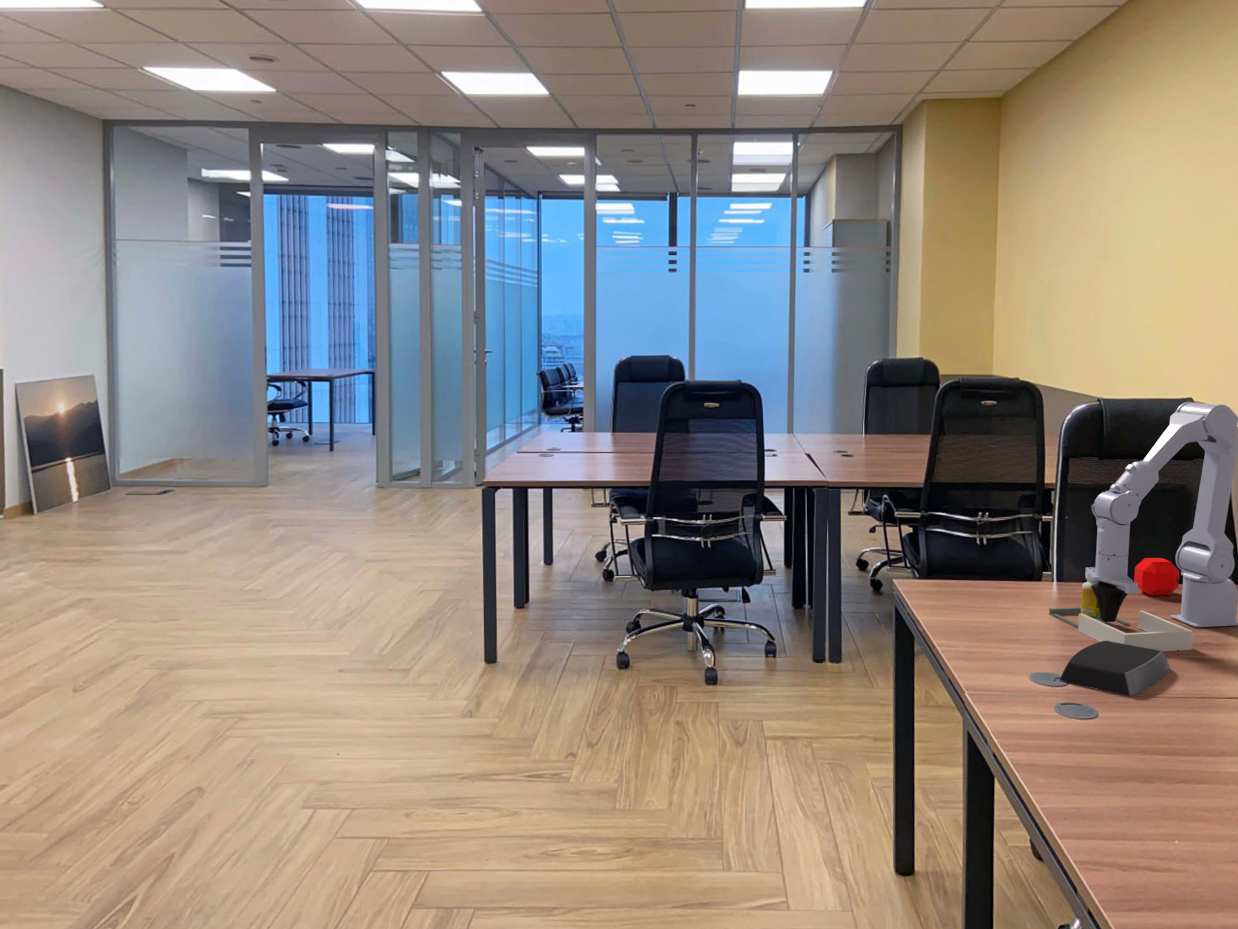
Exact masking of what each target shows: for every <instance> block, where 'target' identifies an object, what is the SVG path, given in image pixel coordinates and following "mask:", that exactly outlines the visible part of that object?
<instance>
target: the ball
mask: <svg viewBox="0 0 1238 929" xmlns="http://www.w3.org/2000/svg"><path fill="white" fill-rule="evenodd" d="M1133 582H1135V583H1137V584H1138V589H1140V590H1141V591H1142V592H1143V593H1145V594H1147V595H1149V596H1150V595H1169V596H1170V595H1171V594H1172V593H1173V592H1175V590H1177V589H1178V588H1179V582H1180V570H1179V569H1178V567H1176V566H1175V564H1173V563H1172V562H1171V561H1170V560H1168V559H1166V558H1162V557H1145V558H1143V559H1142V560H1141V561H1140V562H1139V563H1137V565H1135V567H1134V578H1133Z"/></svg>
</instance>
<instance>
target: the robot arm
mask: <svg viewBox="0 0 1238 929" xmlns="http://www.w3.org/2000/svg"><path fill="white" fill-rule="evenodd" d="M1237 429H1238V415H1237V414H1236V413H1235V411H1233V410H1232V408H1231V407H1229V406H1228V405H1225V404H1210V403H1199V402H1194V401H1186V402H1183V403H1182V404H1180V405H1179V406H1178V407H1177V409H1176V410H1175V412H1174V413H1172V414H1171V415H1170V417H1169V425H1168V426H1167V427H1166V429H1165V430H1164V431H1163V432H1162V434H1161V435H1160V436H1159V438H1158V439H1157V441H1156V442H1155V444H1154V445H1153V446H1152V447H1151V449H1150V450H1149V452H1148V453H1147V454H1146V456H1145V457H1144V458H1143V460H1140V461H1139V460H1138V461H1134V462H1132V463H1131V464H1128V465H1127V466H1126V467H1125V468H1124V469H1125V470H1124V472H1123V473H1122V475H1121V476H1119V477H1118V479H1117V480H1116V482H1114V483H1113V484H1111V486H1109V487H1110V488H1109V490H1105V491H1102V492H1101V493H1100V494H1098V495H1097V497H1096V498H1095V499H1094V501H1093V502H1094V503H1093V504H1091V511H1092V514H1093V515H1094V517H1095V520H1096V522H1095V523H1096V524H1095V525H1096V526H1097V529H1096V530H1097V534H1096V550H1095V551H1096V552H1095V566H1093V567H1092V566H1090V567H1085V572H1084V574H1085V575H1084V576H1085V578H1086V573H1087V572H1088V573H1090V574H1091V575H1090V579H1092V580H1099V583H1098V584H1093V585H1092V586H1091V588H1092V590H1093V591H1094V593H1095V596H1096V598H1097V601H1098V605H1099V609H1100V614H1101V618H1102V621H1104V622H1106V623H1114V622H1116V621H1115V620H1116V618H1118V614H1119V611H1120V608H1121V606H1122V605H1123V602H1124V600H1125V599H1126V597H1127V596H1128V595H1131V594H1135V595H1138V593H1139V592H1138V591H1139V590H1138V589H1139V587H1138V584H1137V583H1135V582H1134V580H1133V579H1131V578H1130V576H1128V566H1129V549H1130V529H1131V522H1133V520H1134V519H1136V518H1137V516H1138V513H1139V509H1140V508H1139V507H1140V505H1141V504H1142V501H1143V499H1144V498H1145V497H1146V496H1147V495H1148V493H1150V491H1151V490H1152V489H1153V488H1154V487H1155V485H1156V484H1158V482H1159V480H1160V477H1159V471H1161V469H1163V467H1164V466H1165V465H1166V464H1167V463H1168V462H1170V460H1171V459H1172V458H1174V456H1175V455H1176V454H1177V453H1178V452H1179V451H1180V450H1181V449H1182V448H1183V447H1184V446H1185V445H1186V444H1189V443H1194V442H1197V443H1198V445H1199V446H1200V447H1201V448H1202V449H1203V450H1204V459H1203V463H1202V464H1203V465H1202V471H1201V476H1200V477H1201V478H1200V483H1199V490H1198V495H1197V501H1196V509H1195V515H1194V521H1193V527H1192V529H1190V530H1189V531H1187V532H1186V533H1184V535H1182V540H1181V544H1180V545H1179V547H1178V549H1177V550H1176V553H1175V564H1176V566H1177V568H1179V569H1180V571H1181V572H1180V574H1181V576H1182V591H1181V606H1180V614H1171V615H1170V618H1171V619H1175V620H1177V621H1179V622H1182V623H1184V624H1186V625H1190V626H1192V627H1195V628H1209V627H1211V628H1212V627H1227V626H1228V627H1229V626H1231V627H1232V626H1238V622H1237V621H1236V619H1237V609H1238V589H1237V586H1236V584H1235V582H1234V581H1233V580H1231V579H1230V578H1229V577H1231V575H1232V574H1233V572H1234V569H1235V558H1234V552H1233V551H1234V544H1233V542H1232V541H1231V540H1230V538H1228V536H1227V534H1226V533H1225V530H1226V524H1227V523H1226V522H1227V517H1228V513H1229V512H1228V511H1229V504H1230V499H1231V493H1232V492H1231V491H1232V486H1233V480H1234V476H1235V475H1234V474H1235V467H1236V462H1237V455H1238V434H1237ZM1179 569H1178V570H1179Z"/></svg>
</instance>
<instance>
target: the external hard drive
mask: <svg viewBox="0 0 1238 929" xmlns="http://www.w3.org/2000/svg"><path fill="white" fill-rule="evenodd" d="M1170 670H1171V667H1170V664H1169V662H1168V658H1167V657H1166V654H1165V651H1160V650H1154V649H1149V648H1143V647H1137V646H1132V645H1126V644H1121V643H1116V642H1111V641H1102V642H1099V641H1098V642H1096V643H1092V644H1090V645H1088V646H1086V647H1083V648H1082V649H1080V650H1079V651H1077V652H1076V653H1075V654H1074V655H1073V656H1072V657H1071V658H1070V659H1069V661H1068V663H1067V664H1066V666H1065V667H1064V670H1063V672H1062V673H1061V676H1060V677H1059V680H1063V681H1066V682H1065V683H1067V682H1069V684H1072V683H1073V684H1072V685H1077V684H1078V685H1077V686H1081V685H1082V686H1081V687H1086V686H1087V687H1086V688H1090V687H1092V688H1091V689H1095V688H1097V689H1096V690H1099V689H1100V690H1101V691H1104V690H1105V691H1106V692H1109V693H1113V694H1114V693H1115V694H1119V695H1123V696H1128V697H1133V696H1136V695H1137V694H1140V693H1142V692H1143V691H1145V690H1147V689H1149V688H1151V687H1152V686H1154V685H1155V684H1157V683H1158V682H1160V681H1161V680H1162V679H1163V678H1165V676H1166V675H1167V674H1168V673H1169V672H1170ZM1063 681H1062V682H1063ZM1105 691H1104V692H1105Z"/></svg>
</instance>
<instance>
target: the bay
mask: <svg viewBox="0 0 1238 929" xmlns="http://www.w3.org/2000/svg"><path fill="white" fill-rule="evenodd" d="M1077 624H1078V628H1077V632H1080V633H1081V634H1083V635H1085V636H1087V637H1089V638H1090V639H1091V638H1092V639H1093V640H1095V639H1096V642H1097V641H1098V642H1102V641H1111V642H1116V643H1121V644H1126V645H1132V646H1137V647H1143V648H1149V649H1154V650H1160V651H1163V652H1175V651H1176V652H1177V650H1179V651H1193V639H1194V638H1193V636H1194V631H1193V630H1190V629H1188V628H1186V627H1183V626H1181V625H1179V624H1176V623H1174V622H1172V621H1168V620H1166V619H1164V618H1161V617H1160V616H1157V615H1154V614H1152V613H1149V612H1147V611H1146V610H1145V611H1144V610H1139V611H1138V623H1137V625H1138V627H1137V628H1138V629H1140V630H1141V629H1142V631H1143V630H1144V631H1143V632H1125V631H1121V630H1119V629H1117V628H1115V627H1114V626H1111V625H1109V624H1107V623H1102V622H1100V621H1098V620H1096V619H1094V618H1091V617H1089V616H1087V615H1085V614H1078V623H1077Z"/></svg>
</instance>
